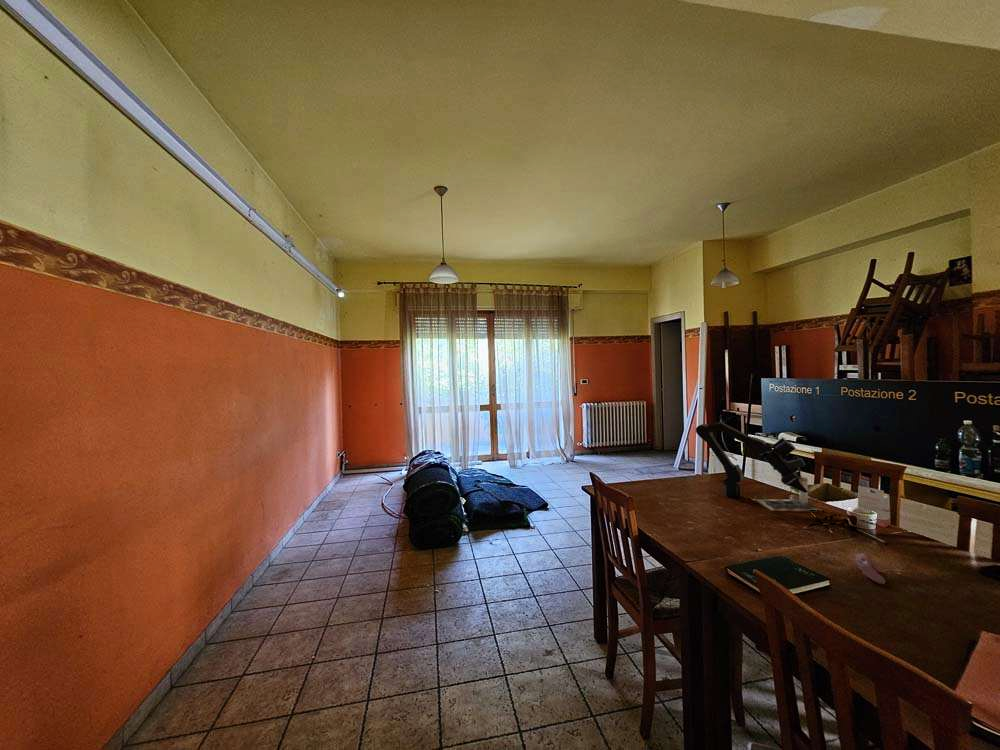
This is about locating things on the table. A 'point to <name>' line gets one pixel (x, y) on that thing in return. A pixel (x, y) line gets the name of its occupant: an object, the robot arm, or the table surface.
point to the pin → (803, 496)
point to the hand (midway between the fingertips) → (807, 489)
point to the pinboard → (786, 504)
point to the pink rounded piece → (869, 568)
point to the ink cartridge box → (875, 504)
